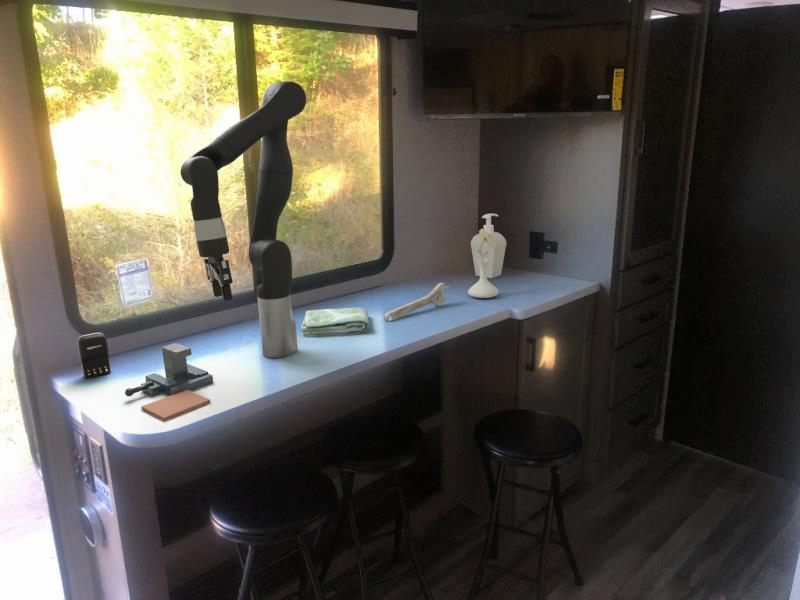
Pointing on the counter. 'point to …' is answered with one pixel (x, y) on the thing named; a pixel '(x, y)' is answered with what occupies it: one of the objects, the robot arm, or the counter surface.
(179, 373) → the gray rectangular prism
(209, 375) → the vise
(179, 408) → the mat
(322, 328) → the towel
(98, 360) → the battery charger
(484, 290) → the flower in vase
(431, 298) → the wrench
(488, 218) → the soap bottle
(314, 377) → the counter surface
